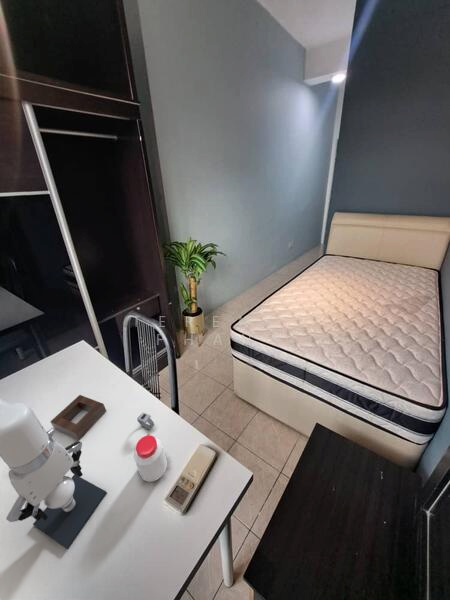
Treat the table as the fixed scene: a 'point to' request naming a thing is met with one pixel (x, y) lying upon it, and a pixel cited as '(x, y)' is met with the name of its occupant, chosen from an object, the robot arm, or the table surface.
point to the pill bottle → (150, 458)
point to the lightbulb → (61, 495)
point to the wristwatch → (145, 420)
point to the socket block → (72, 410)
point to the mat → (72, 513)
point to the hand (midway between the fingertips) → (61, 493)
